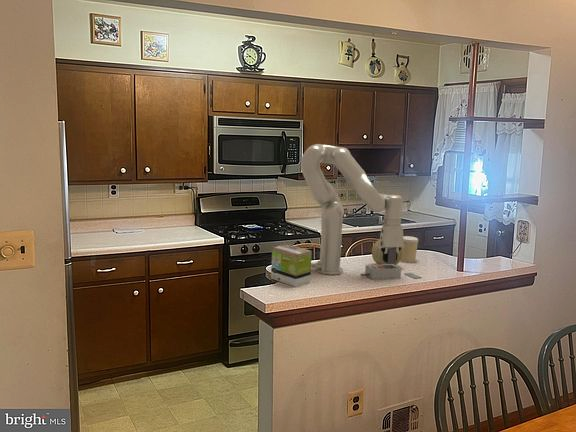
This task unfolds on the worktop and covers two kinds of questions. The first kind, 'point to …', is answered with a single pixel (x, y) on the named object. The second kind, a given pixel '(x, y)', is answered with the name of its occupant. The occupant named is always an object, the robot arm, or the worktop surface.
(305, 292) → the worktop surface
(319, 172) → the robot arm
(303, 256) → the tea box
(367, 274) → the machine vise
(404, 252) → the coffee cup
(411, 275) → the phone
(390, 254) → the charger
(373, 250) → the cantaloupe
